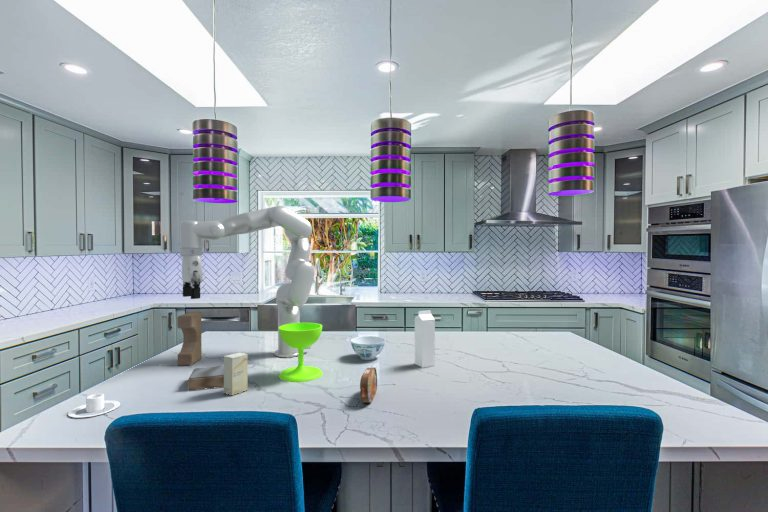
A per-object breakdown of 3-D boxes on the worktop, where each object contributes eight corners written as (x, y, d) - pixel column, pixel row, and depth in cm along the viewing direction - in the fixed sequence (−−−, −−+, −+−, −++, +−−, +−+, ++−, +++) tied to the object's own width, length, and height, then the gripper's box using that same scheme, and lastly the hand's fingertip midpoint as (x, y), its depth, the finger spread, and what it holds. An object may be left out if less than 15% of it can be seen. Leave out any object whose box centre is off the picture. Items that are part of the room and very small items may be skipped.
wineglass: (331, 374, 141) (331, 326, 141) (294, 385, 129) (294, 333, 129) (306, 365, 152) (306, 321, 152) (270, 375, 140) (270, 326, 140)
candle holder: (103, 419, 104) (102, 403, 104) (56, 420, 103) (56, 405, 103) (128, 402, 116) (128, 388, 116) (87, 403, 115) (87, 389, 115)
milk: (414, 363, 155) (414, 310, 155) (427, 362, 157) (426, 309, 157) (422, 367, 149) (422, 312, 149) (435, 365, 152) (434, 311, 152)
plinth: (229, 375, 140) (229, 364, 140) (227, 386, 128) (227, 374, 128) (193, 379, 136) (193, 368, 136) (188, 390, 124) (188, 378, 124)
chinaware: (391, 356, 166) (391, 338, 166) (372, 364, 153) (372, 345, 153) (363, 351, 174) (363, 334, 174) (343, 359, 161) (343, 341, 161)
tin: (369, 407, 111) (368, 379, 111) (358, 406, 112) (358, 378, 112) (378, 389, 126) (378, 364, 126) (368, 388, 127) (368, 363, 127)
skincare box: (231, 396, 120) (231, 358, 119) (223, 393, 122) (222, 356, 122) (248, 390, 125) (248, 353, 125) (239, 387, 127) (239, 351, 127)
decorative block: (191, 365, 152) (191, 316, 152) (176, 366, 151) (176, 316, 151) (202, 358, 163) (202, 311, 163) (188, 358, 162) (188, 312, 162)
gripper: (209, 253, 141) (209, 298, 141) (194, 252, 154) (194, 294, 154) (187, 253, 136) (187, 300, 136) (173, 252, 149) (174, 296, 149)
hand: (191, 297), depth 145 cm, fingers open, 9 cm apart
